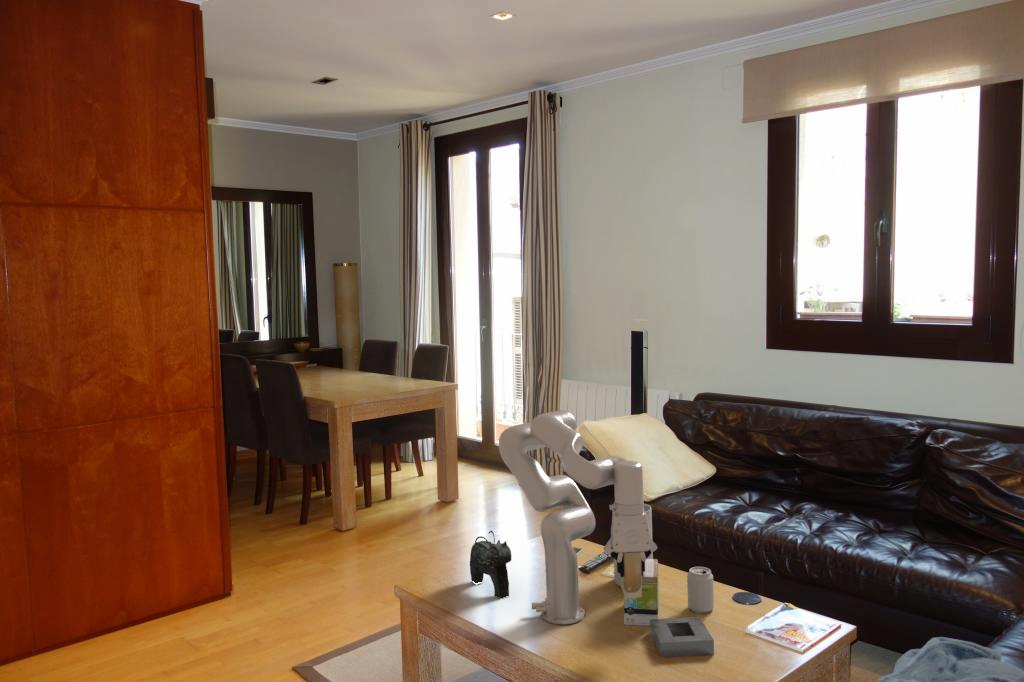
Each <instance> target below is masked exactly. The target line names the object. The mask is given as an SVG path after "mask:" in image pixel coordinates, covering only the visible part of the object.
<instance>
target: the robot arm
mask: <svg viewBox="0 0 1024 682" xmlns="http://www.w3.org/2000/svg"><path fill="white" fill-rule="evenodd" d="M577 428H578V423H577V420H576V418H575V416H574V415H573V414H572V413H570V412H569V411H567V410H564V409H562V410H556V411H550V412H546V413H540V414H538V415H537V416H534V418H533V419H532V420H531V422H525V423H519V424H516V425H513V426H509V427H508V428H505V429H504V430H503V431H502V432H501V433H500V436H499V439H498V449H499V454H500V456H501V459H502V462H504V464H505V465H506V467H507V468H508V469H509V471H510V472H511V473H512V475H513V476H514V477H515V479H516V480H517V482H518V485H519V487H520V488H521V490H522V491H523V493H524V495H525V497H526V499H527V500H528V502H529V504H530V505H531V507H532V509H534V511H536V512H539V513H545V512H549V511H552V512H550V513H548V514H547V515H545V516H544V518H543V519H542V520H541V523H540V534H541V538H542V542H543V549H544V562H545V563H544V564H545V584H546V585H545V587H546V597H545V598H544V600H542V601H541V602H531V610H535V611H536V613H540V612H541V617H542V618H543V620H545V622H548V623H551V624H553V625H572V624H576V623H578V621H579V622H580V620H581V621H582V620H583V619H584V618H585V615H586V612H585V609H584V608H583V607H581V606H580V596H579V593H580V592H579V567H578V565H579V563H578V555H577V552H576V549H574V547H573V545H572V542H574V541H576V540H579V539H582V538H584V537H587V536H589V535H591V534H592V533H593V532H594V531H595V529H596V524H597V523H596V517H595V515H594V512H593V510H592V508H591V507H590V505H589V503H588V501H587V500H586V498H585V497H584V495H583V493H582V492H581V490H580V488H579V486H578V485H577V483H578V484H579V485H580V486H582V487H583V488H586V489H589V490H590V489H591V490H596V489H597V490H598V489H600V488H603V487H607V486H610V485H611V486H612V485H614V502H613V504H609V510H610V511H612V510H614V511H615V512H613V515H612V516H611V517H612V518H611V525H610V538H609V540H608V541H607V543H606V544H605V546H604V547H603V551H604V552H605V553H606V554H607V555H610V556H611V557H612V558H613V560H614V559H615V560H616V561H617V572H618V573H620V575H621V577H624V563H623V561H622V556H623V553H630V552H640V553H641V576H643V572H645V561H646V559H647V558H648V557H649V556H650V555H651V553H653V552H655V551H657V549H658V546H657V544H656V543H655V542H654V541H653V538H652V539H651V538H650V530H649V522H648V516H647V513H646V512H645V511H644V505H643V503H644V475H643V473H644V471H643V466H642V464H641V463H640V462H638V461H634V460H627V459H625V458H622V457H621V456H617V455H609V456H605V457H600V458H596V459H593V460H587V459H586V458H585V457H583V456H581V455H580V452H581V451H582V449H583V446H584V438H583V436H582V435H581V433H579V432H578V431H577ZM543 448H548V449H550V450H551V451H552V452H554V453H555V454H556V455H558V456H559V457H560V458H561V463H562V466H563V468H564V471H565V472H566V474H567V475H566V474H557V475H553V476H549V475H548V474H547V473H546V472H545V470H544V468H543V467H542V465H541V463H540V462H539V461H538V460H537V459H535V458H534V457H532V456H531V455H529V454H528V453H527V452H530V451H534V450H538V449H543ZM559 508H561V509H559ZM556 509H558V510H556ZM553 510H554V511H553ZM653 554H654V553H653Z"/></svg>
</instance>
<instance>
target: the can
mask: <svg viewBox="0 0 1024 682" xmlns="http://www.w3.org/2000/svg"><path fill="white" fill-rule="evenodd" d="M688 571H689V572H687V574H686V575H687V576H686V577H687V579H686V581H687V583H686V584H687V585H686V587H687V607H688V608H689V609H690V610H691V611H692V612H694V613H697V614H708V613H710V612H711V611H712V610H713V609H714V607H715V604H714V603H715V601H714V600H715V599H714V598H715V597H714V575H713V574H712V570H711V569H710V568H708V567H705V566H694V567H691V568H689V570H688Z"/></svg>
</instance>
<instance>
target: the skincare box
mask: <svg viewBox="0 0 1024 682" xmlns="http://www.w3.org/2000/svg"><path fill="white" fill-rule="evenodd" d="M622 561H623V563H624V577H621V583H622V587H621V591H622V592H623V596H624V595H625V596H626V598H636V597H642V576H641V553H640V552H630V553H623V556H622Z"/></svg>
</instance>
